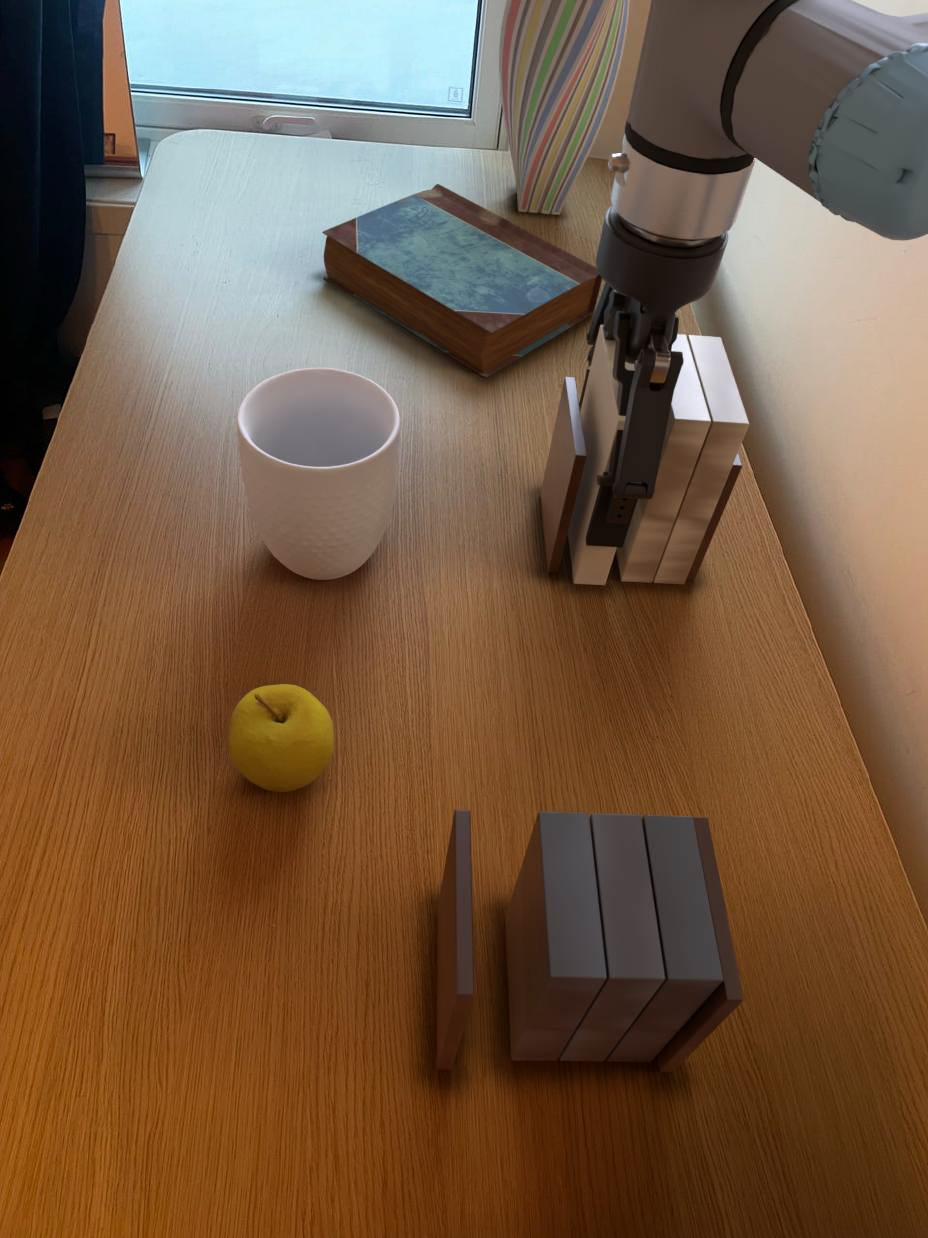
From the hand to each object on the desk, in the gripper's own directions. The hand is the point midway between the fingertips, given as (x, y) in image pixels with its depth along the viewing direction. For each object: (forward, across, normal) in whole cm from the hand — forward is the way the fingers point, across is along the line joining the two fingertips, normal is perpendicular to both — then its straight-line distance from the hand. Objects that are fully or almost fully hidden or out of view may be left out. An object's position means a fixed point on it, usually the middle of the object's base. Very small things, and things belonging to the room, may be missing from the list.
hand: (595, 488), depth 73 cm
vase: (+5, -56, 0) cm, 56 cm away
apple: (+5, +23, -22) cm, 32 cm away
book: (+5, -34, -10) cm, 36 cm away
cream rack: (+5, 0, +2) cm, 5 cm away
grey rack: (+5, +36, -5) cm, 37 cm away
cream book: (+5, 0, 0) cm, 5 cm away
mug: (+5, +2, -20) cm, 21 cm away
